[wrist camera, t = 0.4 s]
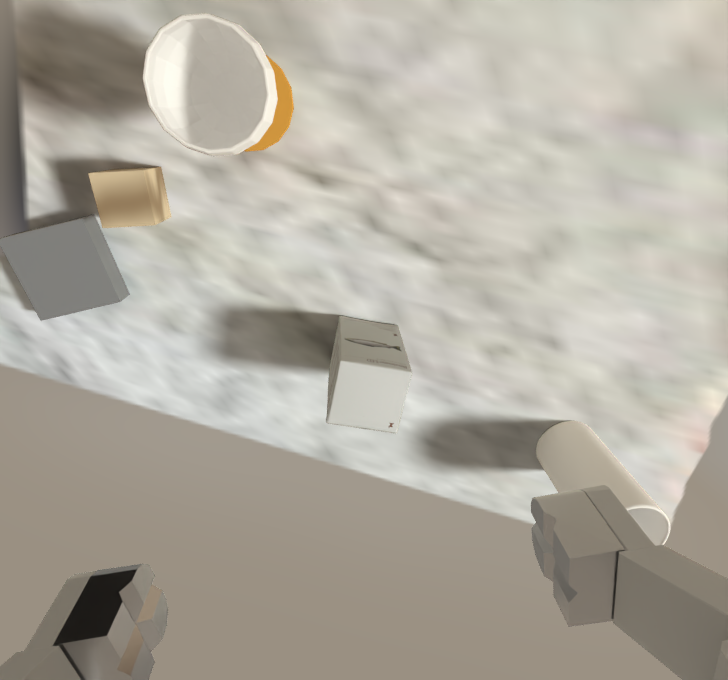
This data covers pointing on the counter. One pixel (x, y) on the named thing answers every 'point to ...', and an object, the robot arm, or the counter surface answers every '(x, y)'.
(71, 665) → the robot arm
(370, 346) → the supplement box
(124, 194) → the maple cube
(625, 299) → the counter surface
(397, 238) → the counter surface
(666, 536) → the cup
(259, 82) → the cup
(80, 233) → the plate
